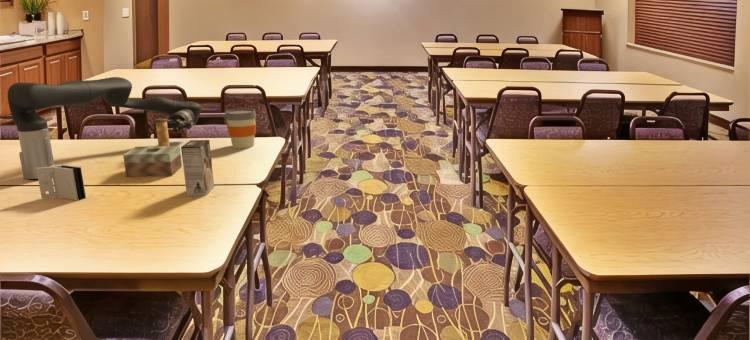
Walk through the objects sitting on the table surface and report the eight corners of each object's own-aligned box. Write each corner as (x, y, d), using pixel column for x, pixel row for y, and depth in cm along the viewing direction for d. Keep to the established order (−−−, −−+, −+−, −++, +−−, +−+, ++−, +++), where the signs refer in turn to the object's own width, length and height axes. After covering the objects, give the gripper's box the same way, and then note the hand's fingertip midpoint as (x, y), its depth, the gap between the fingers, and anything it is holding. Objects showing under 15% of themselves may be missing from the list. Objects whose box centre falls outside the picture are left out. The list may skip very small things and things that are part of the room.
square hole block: (126, 176, 204) (123, 154, 202) (138, 167, 216) (135, 146, 213) (171, 175, 205) (169, 153, 202) (181, 166, 216) (179, 145, 214)
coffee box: (195, 187, 191) (190, 139, 187) (214, 187, 191) (210, 139, 187) (186, 196, 182) (180, 146, 178) (206, 195, 182) (201, 146, 178)
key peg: (158, 163, 220) (153, 120, 216) (162, 160, 225) (157, 118, 220) (170, 163, 221) (165, 120, 216) (173, 160, 225) (168, 118, 220)
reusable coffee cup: (262, 142, 252) (259, 108, 247) (253, 149, 240) (250, 113, 235) (233, 142, 253) (231, 108, 249) (223, 149, 241) (220, 113, 237)
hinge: (40, 199, 182) (35, 168, 179) (52, 193, 187) (47, 163, 184) (80, 200, 180) (75, 169, 177) (91, 195, 185) (86, 164, 182)
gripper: (161, 112, 239) (147, 119, 224) (196, 111, 240) (185, 118, 224) (163, 130, 242) (150, 138, 226) (198, 129, 242) (187, 137, 226)
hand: (167, 128), depth 225 cm, fingers open, 8 cm apart
